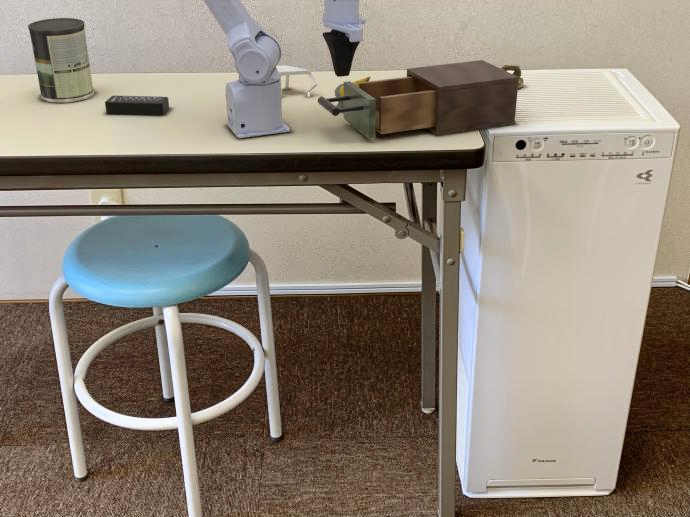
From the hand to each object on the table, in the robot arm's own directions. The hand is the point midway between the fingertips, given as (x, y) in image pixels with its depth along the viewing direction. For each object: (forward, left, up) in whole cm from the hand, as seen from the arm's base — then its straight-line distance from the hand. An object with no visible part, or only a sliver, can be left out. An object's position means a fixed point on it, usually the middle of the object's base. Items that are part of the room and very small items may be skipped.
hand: (342, 75), depth 142 cm
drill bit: (+6, +11, -10) cm, 16 cm away
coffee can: (-43, +41, -10) cm, 60 cm away
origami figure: (-2, +25, -10) cm, 27 cm away
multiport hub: (-31, +25, -10) cm, 42 cm away
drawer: (+6, -2, -9) cm, 11 cm away
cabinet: (+22, -2, -10) cm, 24 cm away
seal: (+37, +15, -10) cm, 41 cm away
